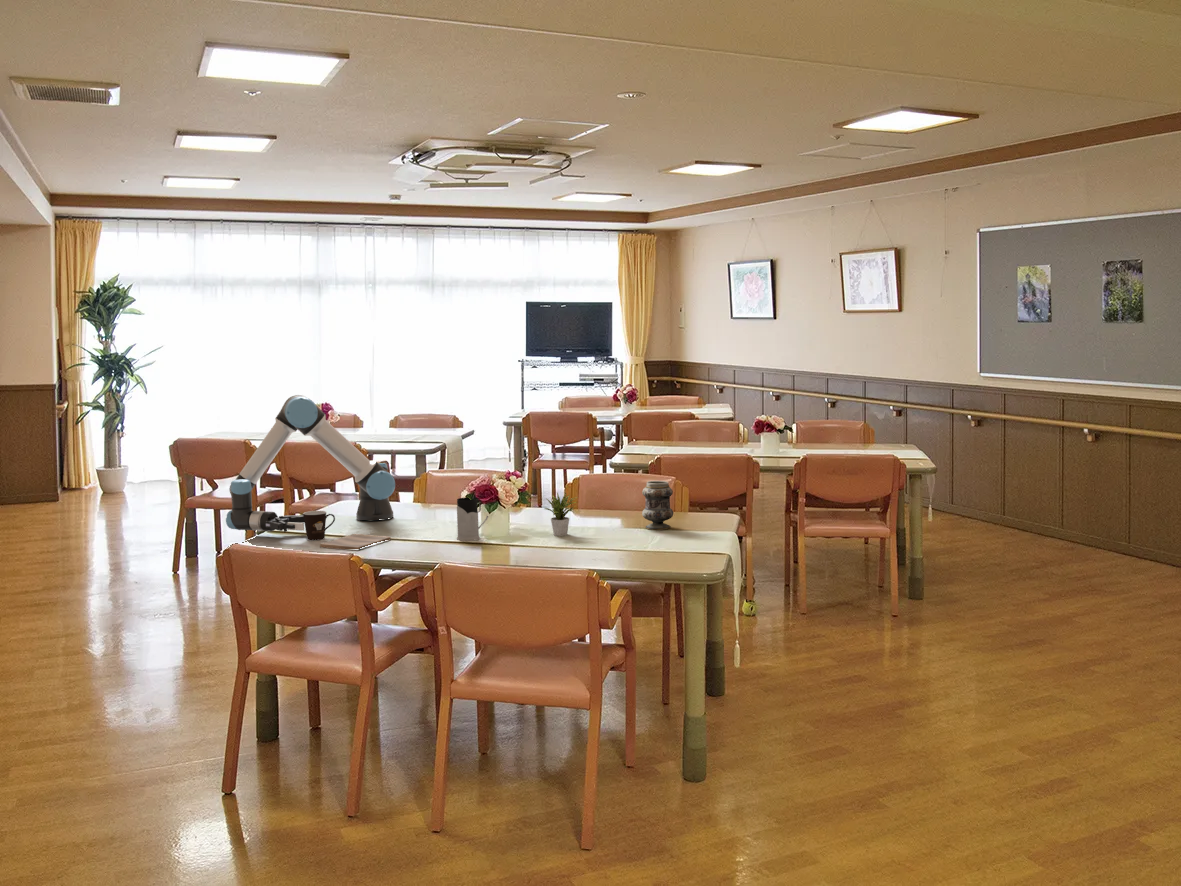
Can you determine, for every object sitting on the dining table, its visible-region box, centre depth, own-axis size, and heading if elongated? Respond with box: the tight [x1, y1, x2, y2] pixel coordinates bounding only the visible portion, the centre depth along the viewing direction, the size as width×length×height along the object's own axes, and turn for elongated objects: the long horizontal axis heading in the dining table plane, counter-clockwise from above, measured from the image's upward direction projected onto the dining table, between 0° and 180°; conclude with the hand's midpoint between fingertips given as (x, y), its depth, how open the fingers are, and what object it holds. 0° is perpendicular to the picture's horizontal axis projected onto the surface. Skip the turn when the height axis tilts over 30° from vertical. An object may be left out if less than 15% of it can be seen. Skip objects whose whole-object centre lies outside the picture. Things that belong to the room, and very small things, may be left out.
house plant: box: [544, 492, 578, 537], centre depth 418 cm, size 14×14×16 cm
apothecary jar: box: [641, 480, 674, 531], centre depth 429 cm, size 12×12×18 cm
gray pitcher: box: [456, 497, 489, 542], centre depth 417 cm, size 9×14×15 cm, turn 127°
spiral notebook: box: [319, 533, 392, 550], centre depth 410 cm, size 20×17×1 cm
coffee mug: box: [302, 510, 336, 541], centre depth 420 cm, size 12×9×10 cm
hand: (313, 523), depth 421 cm, fingers open, 13 cm apart
